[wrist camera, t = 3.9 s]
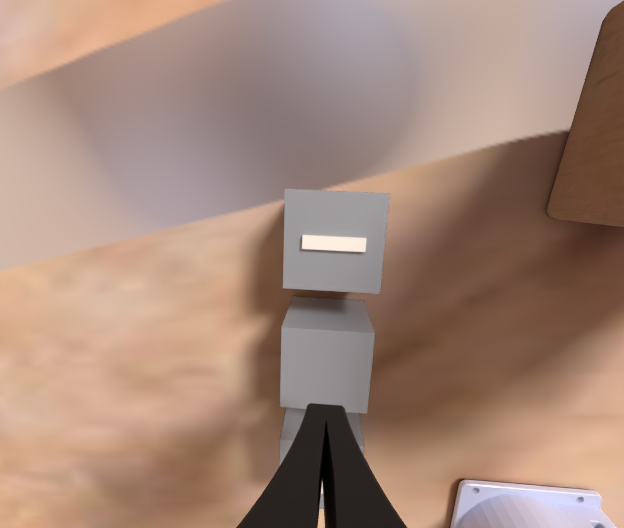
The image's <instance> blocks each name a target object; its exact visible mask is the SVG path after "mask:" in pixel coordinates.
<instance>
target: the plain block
mask: <svg viewBox="0 0 624 528" xmlns="http://www.w3.org/2000/svg"><path fill="white" fill-rule="evenodd" d="M374 340H375V331H374V328H373V326H372V323H371V320H370V317H369V314H368V311H367V308H366V305H365V302H364V301H361V300H344V299H327V298H310V297H292V300H291V302H290V305H289V308H288V311H287V313H286V316H285V319H284V322H283V324H282V327H281V378H280V407H286V408H299V409H306V408H307V405H308V404H310V403H315V404H329V405H342V406H343V407H344V408H345V412H351V413H363V414H367V409H368V399H369V389H370V379H371V369H372V360H373V350H374Z"/></svg>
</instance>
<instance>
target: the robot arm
mask: <svg viewBox="0 0 624 528" xmlns="http://www.w3.org/2000/svg"><path fill="white" fill-rule="evenodd" d="M322 481H323V498H324V516H325V528H407V527H406V525H405V524H404V522H403V521H402V519H401V518H400V517H399V515H398V514H397V512H396V511H395V509H394V508H393V506H392V505H391V503H390V501H389V500H388V498H387V497H386V495H385V493H384V492H383V490H382V488H381V487H380V485H379V483H378V482H377V480H376V478H375V476H374V474H373V473H372V471H371V469H370V467H369V465H368V463H367V461H366V459H365V458H364V455H363V453H362V451H361V449H360V447H359V445H358V443H357V441H356V438H355V436H354V434H353V431H352V429H351V426H350V424H349V421H348V418H347V415H346V412H345V408H344V407H343V406H342V405H329V404H315V403H310V404H308V405H307V408H306V412H305V415H304V418H303V421H302V423H301V426H300V428H299V430H298V433H297V435H296V437H295V439H294V441H293V443H292V445H291V447H290V449H289V451H288V453H287V454H286V456H285V458H284V460H283V461H282V463H281V465H280V467H279V468H278V470H277V472H276V473H275V475H274V477H273V478H272V480H271V481H270V483H269V484H268V486H267V487H266V489H265V490H264V492H263V493H262V495H261V496H260V497H259V499H258V500H257V501H256V503H255V504H254V506H253V507H252V508H251V510H250V511H249V512H248V514H247V515H246V516H245V517H244V519H243V520H242V521H241V523H240V524H239V525H238V526H237V527H236V528H317V526H318V516H319V507H320V497H321V488H322ZM601 504H602V497H601V496H600V495H599V494H598V493H597V492H596V491H593V490H584V489H572V488H560V487H548V486H537V485H525V484H513V483H501V482H489V481H477V480H462V481H461V482H460V484H459V487H458V492H457V497H456V502H455V507H454V512H453V517H452V522H451V527H450V528H617V527H616V526H615V525H614V524H613V523H612V522H611V520H610V519H609V518H608V517H607V516H606V515H605V514H604V512H603V511H602V510H601V509H600V506H601Z"/></svg>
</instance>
